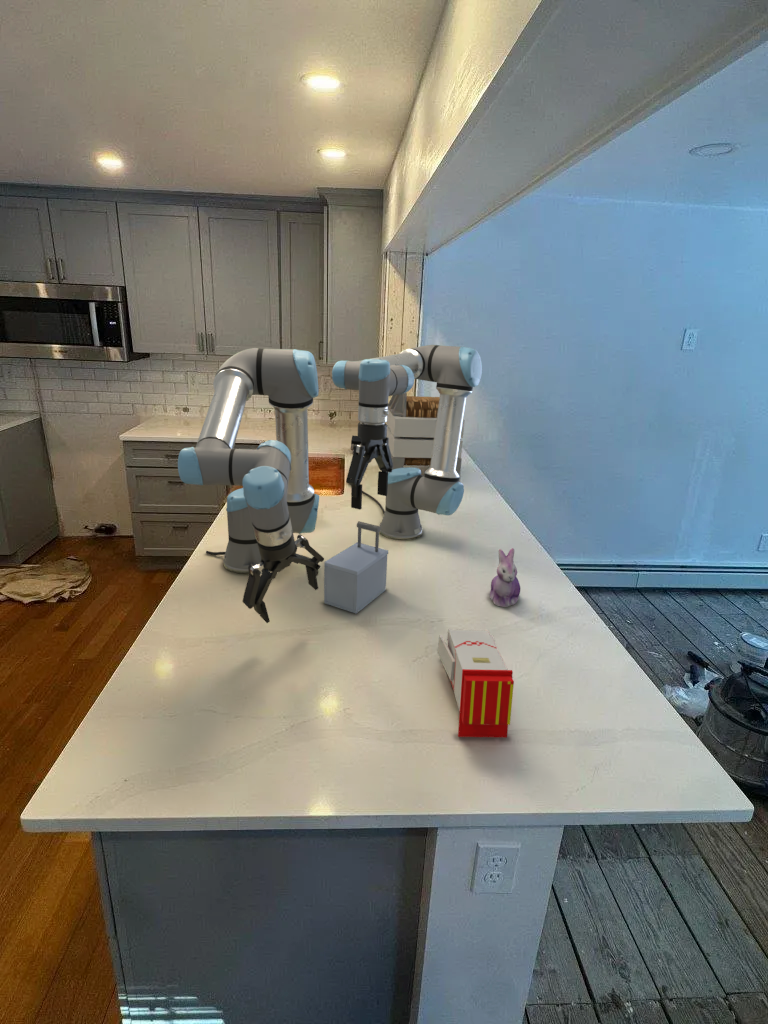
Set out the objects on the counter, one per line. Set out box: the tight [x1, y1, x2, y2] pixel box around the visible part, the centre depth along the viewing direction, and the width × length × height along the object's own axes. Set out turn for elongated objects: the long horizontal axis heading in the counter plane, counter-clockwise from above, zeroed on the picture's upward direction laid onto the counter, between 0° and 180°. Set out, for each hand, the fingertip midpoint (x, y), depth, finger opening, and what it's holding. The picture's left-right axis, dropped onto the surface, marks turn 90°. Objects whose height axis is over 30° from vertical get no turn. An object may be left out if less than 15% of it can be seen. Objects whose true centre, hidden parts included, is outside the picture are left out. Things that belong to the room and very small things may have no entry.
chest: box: [323, 554, 388, 615], centre depth 154 cm, size 16×10×11 cm, turn 151°
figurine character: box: [350, 435, 362, 453], centre depth 309 cm, size 7×8×15 cm
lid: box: [323, 521, 389, 575], centre depth 150 cm, size 16×10×8 cm, turn 151°
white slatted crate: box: [385, 392, 465, 482], centre depth 268 cm, size 34×33×41 cm
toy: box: [437, 628, 515, 738], centre depth 117 cm, size 12×13×30 cm
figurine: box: [489, 547, 521, 608], centre depth 154 cm, size 9×10×15 cm
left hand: (289, 602), depth 130 cm, fingers open, 13 cm apart
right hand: (369, 501), depth 151 cm, fingers open, 13 cm apart
